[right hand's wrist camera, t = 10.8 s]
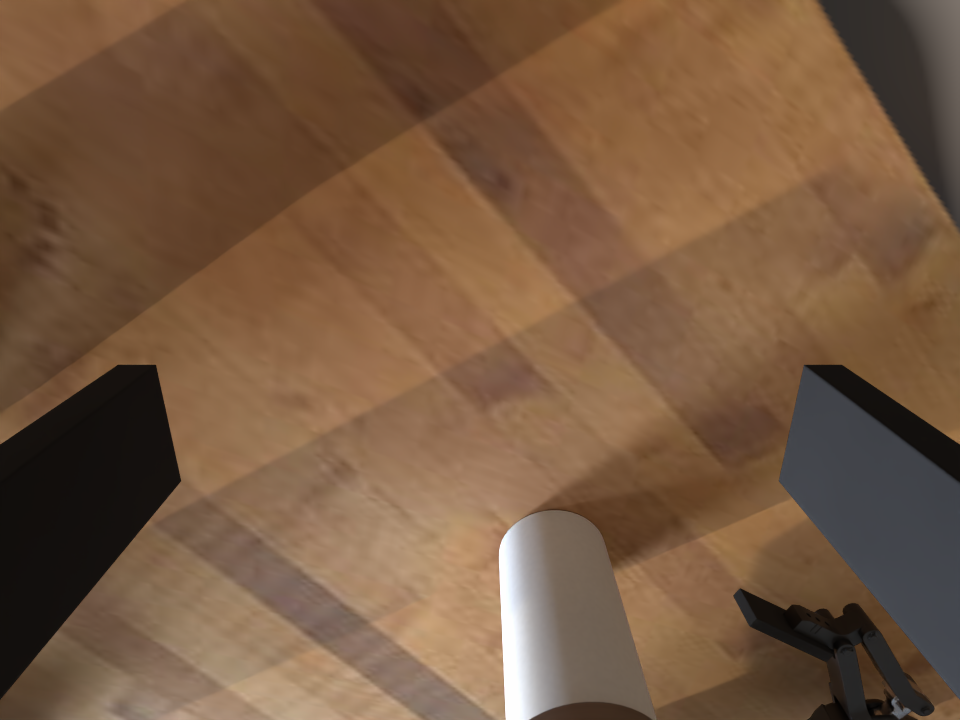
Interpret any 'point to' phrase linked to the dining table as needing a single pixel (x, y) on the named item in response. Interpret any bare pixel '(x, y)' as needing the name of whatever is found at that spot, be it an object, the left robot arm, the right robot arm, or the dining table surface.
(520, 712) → the jar
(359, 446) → the dining table surface
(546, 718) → the lid
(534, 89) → the dining table surface
